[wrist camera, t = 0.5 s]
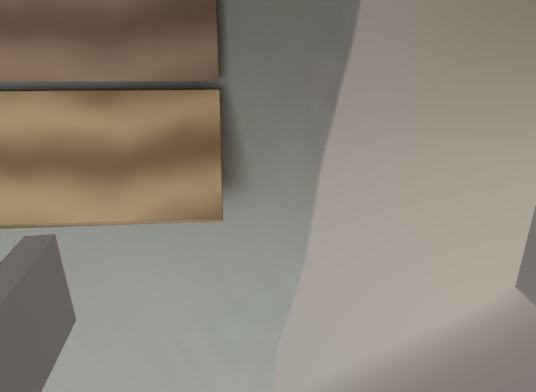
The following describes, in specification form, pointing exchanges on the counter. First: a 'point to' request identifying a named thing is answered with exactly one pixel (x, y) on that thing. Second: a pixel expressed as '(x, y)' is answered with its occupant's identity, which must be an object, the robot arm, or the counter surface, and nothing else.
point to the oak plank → (109, 157)
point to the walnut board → (108, 40)
